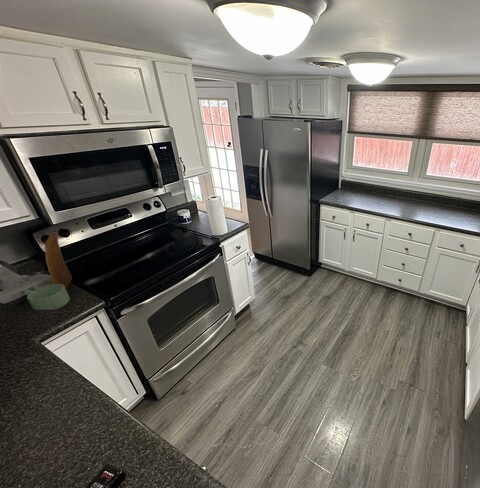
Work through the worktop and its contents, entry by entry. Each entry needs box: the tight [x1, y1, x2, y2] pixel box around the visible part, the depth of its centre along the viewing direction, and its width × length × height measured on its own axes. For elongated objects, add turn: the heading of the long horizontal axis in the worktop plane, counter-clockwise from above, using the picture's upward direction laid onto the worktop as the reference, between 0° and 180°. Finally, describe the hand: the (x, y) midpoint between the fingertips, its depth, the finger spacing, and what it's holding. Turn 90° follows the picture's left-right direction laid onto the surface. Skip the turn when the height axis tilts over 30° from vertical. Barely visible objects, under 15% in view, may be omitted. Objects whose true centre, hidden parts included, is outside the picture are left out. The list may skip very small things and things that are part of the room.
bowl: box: [26, 284, 71, 311], centre depth 125 cm, size 13×13×8 cm
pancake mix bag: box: [43, 231, 73, 290], centre depth 136 cm, size 7×19×28 cm, turn 26°
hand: (36, 291), depth 127 cm, fingers closed
